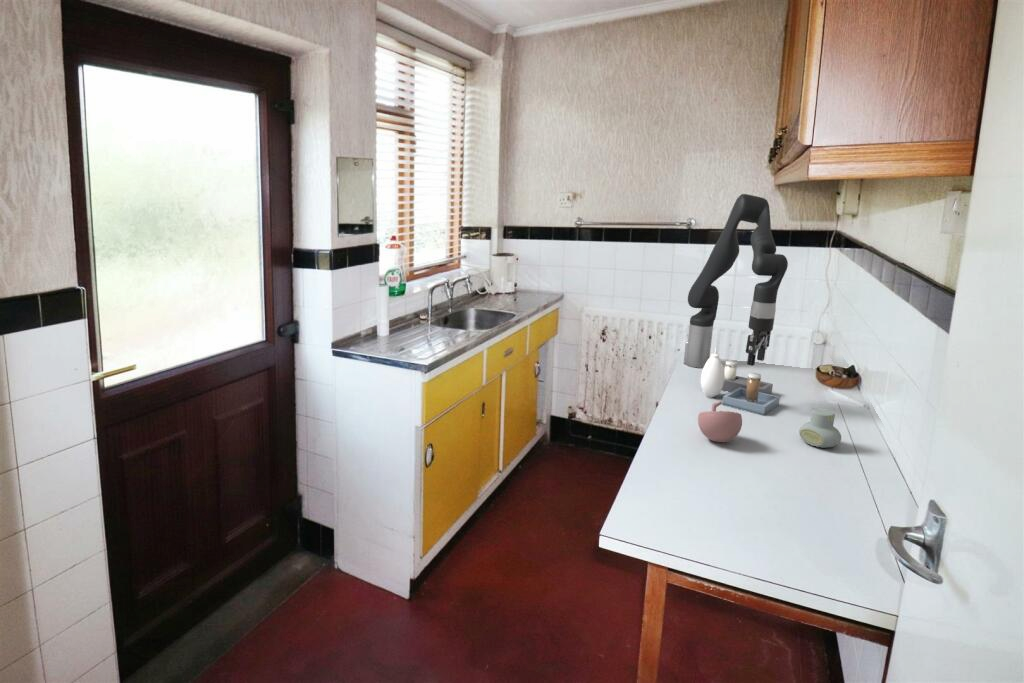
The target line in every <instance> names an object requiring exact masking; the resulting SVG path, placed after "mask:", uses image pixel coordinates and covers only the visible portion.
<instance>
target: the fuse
mask: <svg viewBox="0 0 1024 683" xmlns="http://www.w3.org/2000/svg"><path fill="white" fill-rule="evenodd" d="M737 368H738V361H736V360H726V361H725V364H724V375H725V378H724V379H728V380H732V381H735V378H736V376H737V371H738V370H737Z"/></svg>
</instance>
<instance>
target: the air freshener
mask: <svg viewBox="0 0 1024 683" xmlns="http://www.w3.org/2000/svg"><path fill="white" fill-rule="evenodd" d="M835 416H836V414H835V412H834V411H832V410H830V409H826V408H822V407H821V408H820V407H819V408H818V407H817V408H814V409H812V411H811V416H810V421H808V422H806V423H804V424H802V425H801V426H799V429H798V434H799V436H800V438H801V439H802V440H803V441H804V442H805V443H807V445H809V444H810V445H809V446H811V445H812V446H811V447H813V446H816V447H815V448H818V447H821V449H822V448H823V449H827V448H828V449H829V448H833V447H836V446H838V444H839V443H840V442H842V435H841V432H840V430H839V429H837V428H836V427H835V426H834V424H835Z"/></svg>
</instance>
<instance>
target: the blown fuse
mask: <svg viewBox="0 0 1024 683" xmlns="http://www.w3.org/2000/svg"><path fill="white" fill-rule="evenodd" d="M747 378H748V380H747V388H746V396H745V401H748V402H752V403H756V404H757V402H758V395H759V387H760V381H761V379H762V375H761V374H760V373H756V372H748V374H747Z"/></svg>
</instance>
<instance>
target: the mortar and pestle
mask: <svg viewBox="0 0 1024 683" xmlns="http://www.w3.org/2000/svg"><path fill="white" fill-rule="evenodd" d="M721 405H722V400H719V401H718V402H715V403H714V402H713V403H712V404H711V410H706V411H702V412H701V411H700V412H699V413H698V415H697V424H698V427H699V430H700V432H701V434H702V435H703V436H704V437H706V438H707V439H709V440H711V441H712V442H716V443H726V442H729V441H732V440H733V439H735V438H736V437H737V436H738V435H739V433H740V432H741V430H742V426H743V416H742V414H741V413H739V412H735V411H728V410H726V411H725V410H718V411H717V408H718V407H719V406H721Z"/></svg>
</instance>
